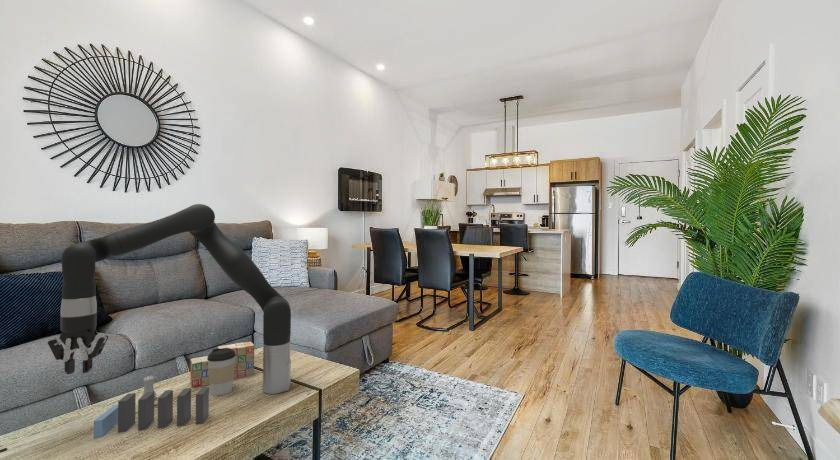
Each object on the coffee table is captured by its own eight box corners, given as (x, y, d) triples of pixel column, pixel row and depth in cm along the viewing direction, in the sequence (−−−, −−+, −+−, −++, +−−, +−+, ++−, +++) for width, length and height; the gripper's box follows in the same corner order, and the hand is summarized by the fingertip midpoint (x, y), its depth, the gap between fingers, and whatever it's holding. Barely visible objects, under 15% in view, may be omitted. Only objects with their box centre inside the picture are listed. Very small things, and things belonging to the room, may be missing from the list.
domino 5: (208, 415, 113) (208, 386, 113) (203, 423, 108) (203, 393, 108) (201, 415, 112) (201, 387, 112) (195, 424, 107) (195, 394, 107)
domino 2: (154, 420, 109) (154, 391, 109) (145, 429, 104) (146, 399, 104) (146, 421, 109) (146, 392, 109) (138, 430, 104) (138, 399, 104)
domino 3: (172, 418, 110) (172, 389, 110) (165, 427, 106) (165, 397, 106) (165, 419, 110) (165, 390, 110) (157, 428, 105) (157, 398, 105)
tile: (121, 404, 109) (102, 420, 100) (120, 420, 109) (102, 437, 100) (113, 405, 109) (93, 420, 100) (113, 421, 109) (93, 438, 100)
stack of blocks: (191, 388, 131) (191, 355, 131) (190, 382, 136) (190, 350, 136) (254, 375, 144) (254, 344, 144) (251, 370, 149) (251, 340, 149)
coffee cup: (241, 387, 132) (241, 347, 132) (220, 398, 123) (220, 355, 123) (222, 384, 135) (222, 344, 135) (200, 394, 126) (201, 352, 126)
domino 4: (190, 416, 112) (191, 388, 112) (184, 425, 107) (184, 395, 107) (183, 417, 111) (183, 388, 111) (176, 426, 106) (177, 396, 106)
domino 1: (135, 422, 108) (135, 393, 108) (126, 431, 103) (126, 400, 103) (127, 423, 108) (127, 393, 108) (117, 432, 103) (118, 401, 103)
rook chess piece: (147, 404, 119) (148, 380, 119) (137, 402, 120) (137, 379, 120) (160, 397, 124) (160, 374, 124) (149, 396, 125) (149, 373, 124)
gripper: (115, 308, 108) (115, 365, 108) (59, 310, 104) (58, 369, 104) (99, 314, 100) (99, 375, 100) (38, 317, 97) (37, 380, 97)
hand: (78, 372), depth 102 cm, fingers open, 3 cm apart
